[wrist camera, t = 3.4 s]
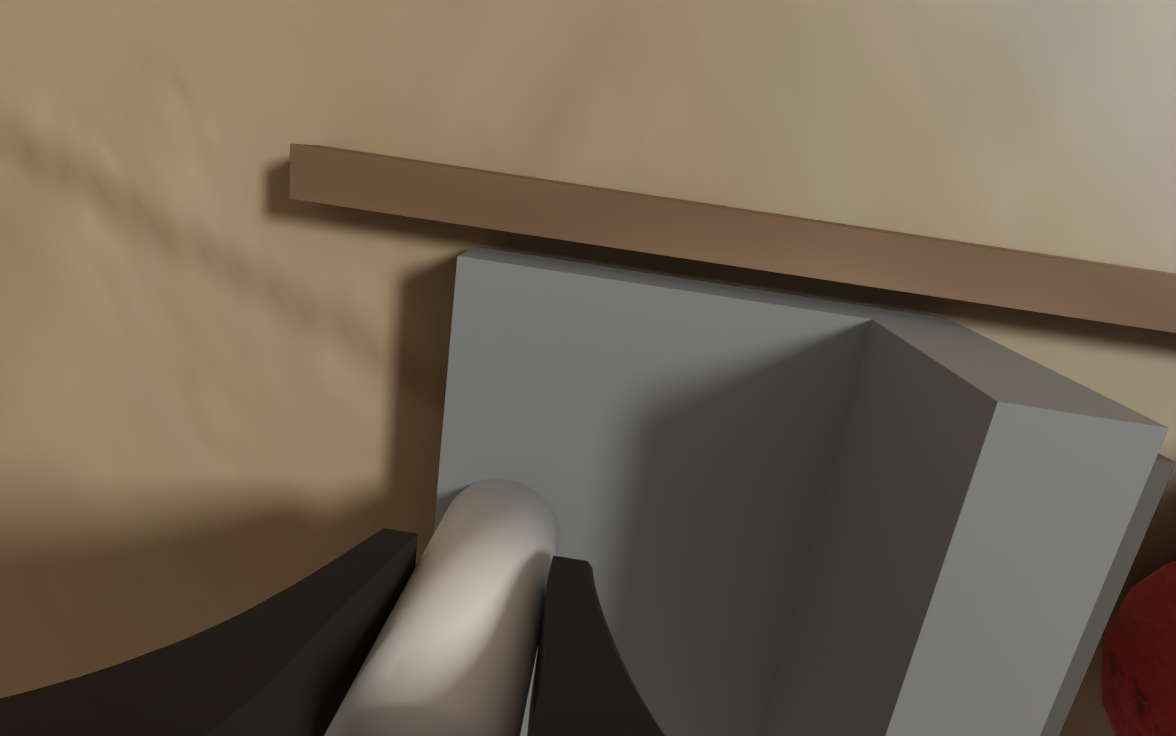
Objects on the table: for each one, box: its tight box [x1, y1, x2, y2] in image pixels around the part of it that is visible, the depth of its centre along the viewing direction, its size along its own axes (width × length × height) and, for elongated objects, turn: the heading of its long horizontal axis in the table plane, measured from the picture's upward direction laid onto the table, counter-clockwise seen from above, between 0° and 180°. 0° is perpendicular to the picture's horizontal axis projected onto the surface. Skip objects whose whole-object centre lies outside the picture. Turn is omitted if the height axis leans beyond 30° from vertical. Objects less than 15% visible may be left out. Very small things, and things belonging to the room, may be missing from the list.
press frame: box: [289, 144, 1176, 333], centre depth 12 cm, size 14×26×7 cm, turn 82°
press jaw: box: [324, 247, 1176, 736], centre depth 12 cm, size 11×10×8 cm
